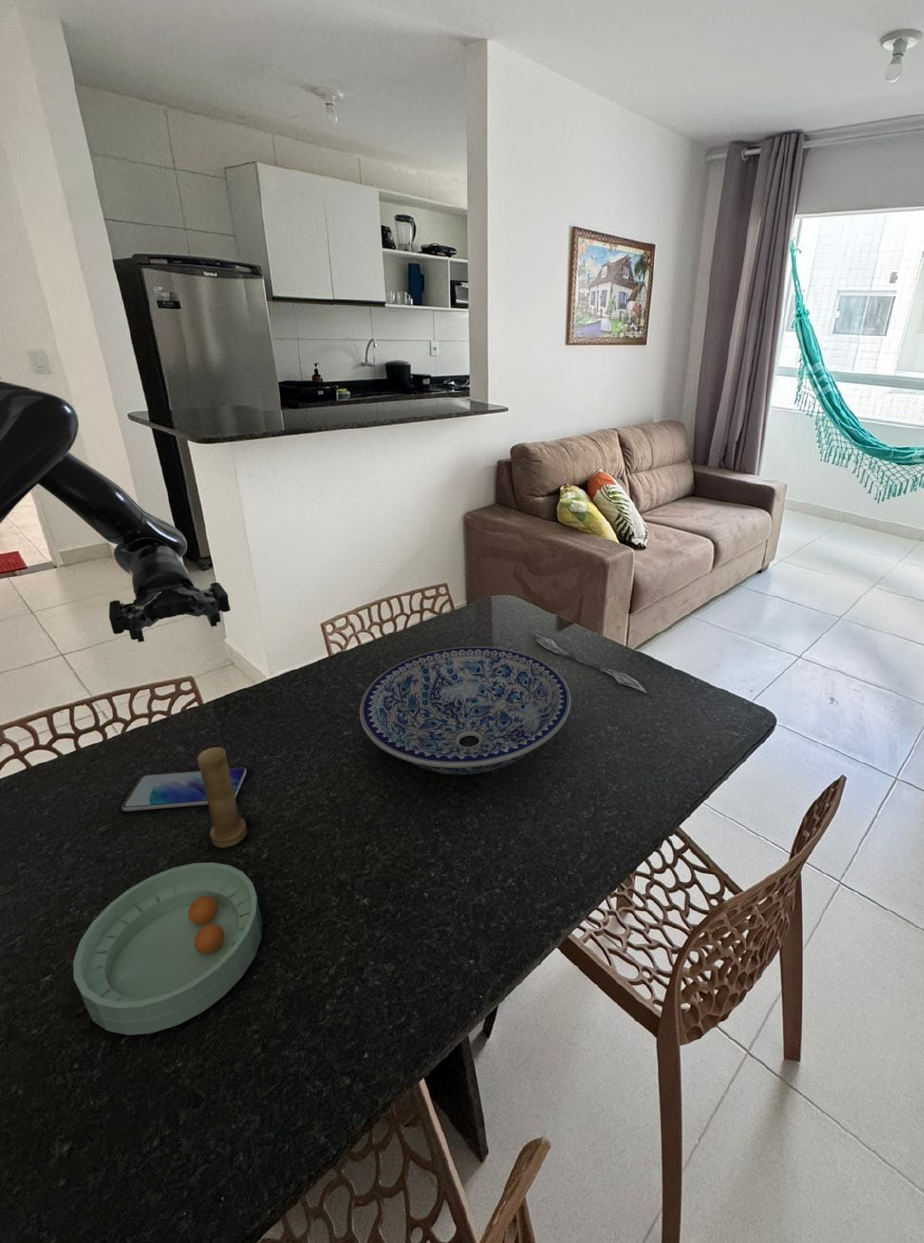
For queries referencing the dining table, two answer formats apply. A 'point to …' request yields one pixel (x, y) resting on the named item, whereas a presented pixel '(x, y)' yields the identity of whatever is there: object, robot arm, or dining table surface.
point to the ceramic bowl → (465, 708)
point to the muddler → (221, 798)
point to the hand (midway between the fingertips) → (177, 627)
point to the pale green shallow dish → (166, 949)
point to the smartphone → (174, 790)
